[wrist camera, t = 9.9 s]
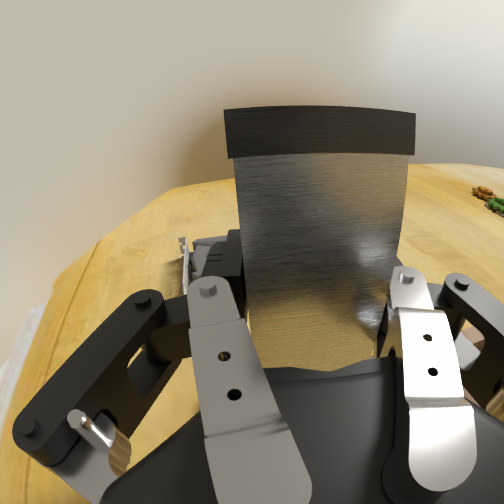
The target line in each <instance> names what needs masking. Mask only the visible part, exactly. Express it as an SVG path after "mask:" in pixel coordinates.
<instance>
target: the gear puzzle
mask: <svg viewBox="0 0 504 504" xmlns="http://www.w3.org/2000/svg"><path fill="white" fill-rule="evenodd" d="M472 191H473V194H476V195H478V197H480V198H484V199H485V200H486V203H485V204H484V206H486V207H487V208H489V209H493V210H495V211H496V213H497V214H498V215H500V216H502V217H504V199H500V198H498V197H496V195H495V194H493V192H492V190H490V189H489V188H486V187H482V186H481V187H480V186H479V187H478V188H473V189H472ZM487 200H488V201H487Z"/></svg>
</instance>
